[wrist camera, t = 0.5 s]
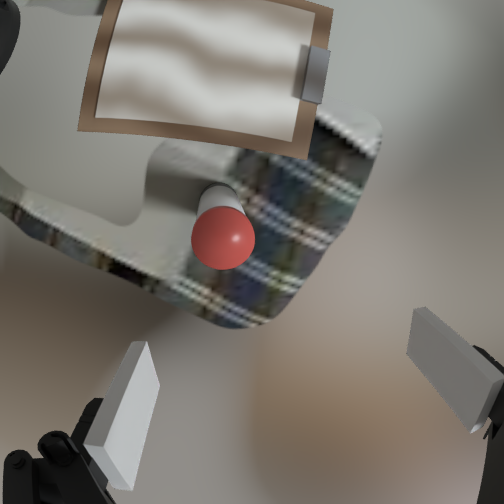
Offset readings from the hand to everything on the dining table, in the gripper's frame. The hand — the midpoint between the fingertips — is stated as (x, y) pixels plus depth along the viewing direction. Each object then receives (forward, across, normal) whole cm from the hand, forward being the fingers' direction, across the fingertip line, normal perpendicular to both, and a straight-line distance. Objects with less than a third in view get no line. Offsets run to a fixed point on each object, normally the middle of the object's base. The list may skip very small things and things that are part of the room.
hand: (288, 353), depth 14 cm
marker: (+21, -4, +5) cm, 22 cm away
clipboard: (+20, -4, +20) cm, 29 cm away
